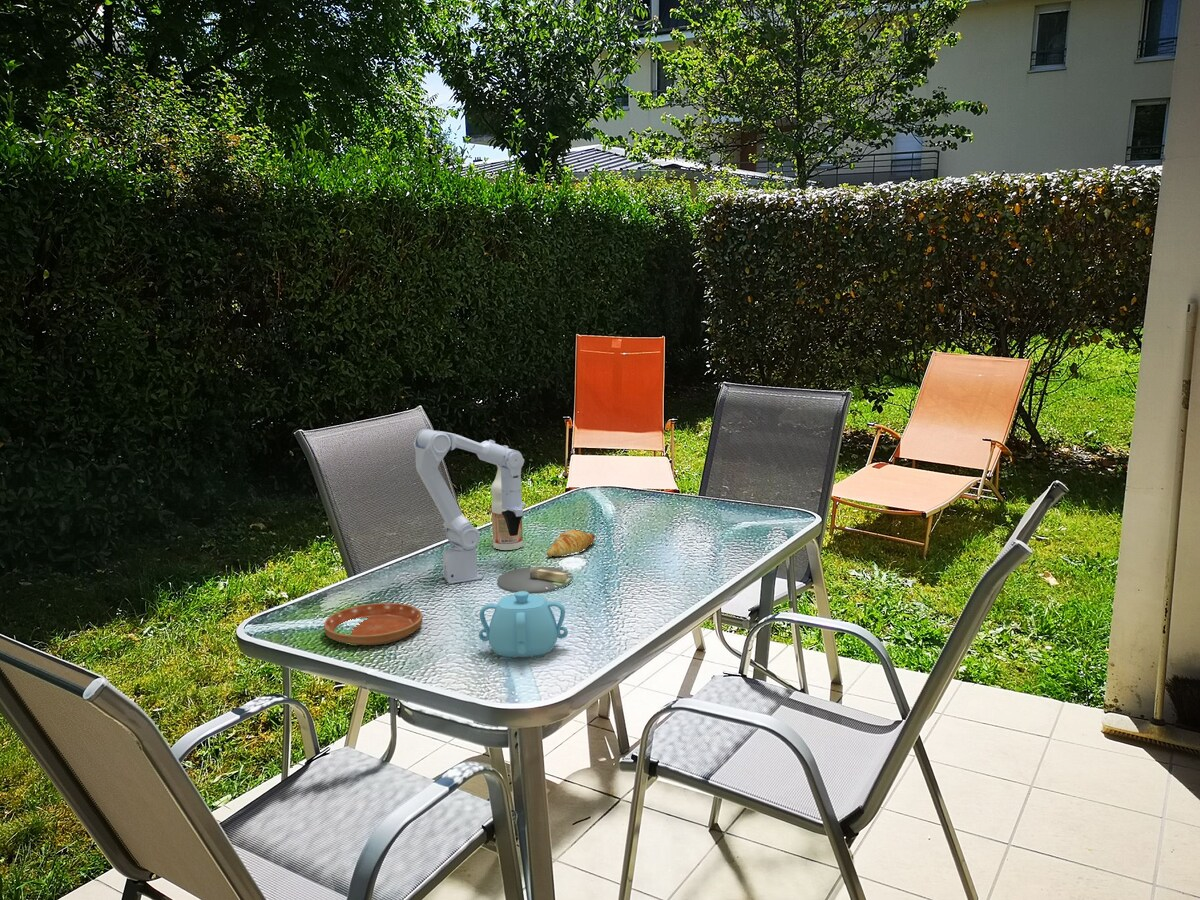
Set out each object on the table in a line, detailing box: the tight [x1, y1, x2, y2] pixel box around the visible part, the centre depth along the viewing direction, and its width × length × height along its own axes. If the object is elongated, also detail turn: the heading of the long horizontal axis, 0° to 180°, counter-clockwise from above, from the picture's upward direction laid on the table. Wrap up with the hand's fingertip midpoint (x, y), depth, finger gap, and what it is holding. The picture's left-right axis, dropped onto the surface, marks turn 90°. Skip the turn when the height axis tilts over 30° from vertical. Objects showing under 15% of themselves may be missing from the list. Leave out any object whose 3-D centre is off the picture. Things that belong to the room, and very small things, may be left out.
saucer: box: [323, 602, 423, 646], centre depth 217 cm, size 23×23×4 cm
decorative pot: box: [478, 591, 569, 660], centre depth 203 cm, size 16×16×14 cm
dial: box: [496, 566, 574, 594], centre depth 252 cm, size 21×21×1 cm
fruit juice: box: [490, 465, 524, 550], centre depth 284 cm, size 9×9×28 cm
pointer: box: [530, 566, 567, 583], centre depth 250 cm, size 11×3×2 cm, turn 58°
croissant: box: [546, 529, 596, 558], centre depth 280 cm, size 21×10×8 cm, turn 141°
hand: (513, 535), depth 265 cm, fingers closed
